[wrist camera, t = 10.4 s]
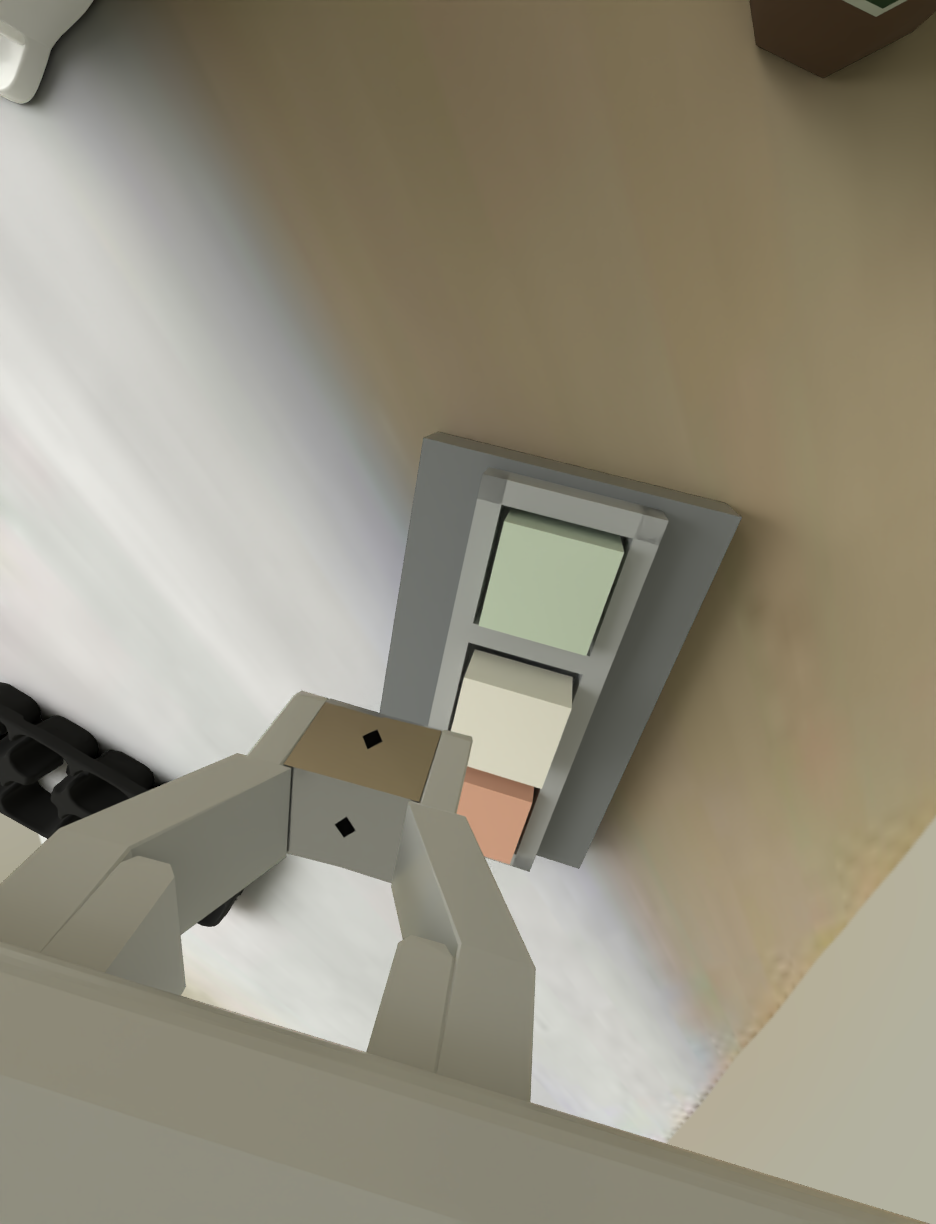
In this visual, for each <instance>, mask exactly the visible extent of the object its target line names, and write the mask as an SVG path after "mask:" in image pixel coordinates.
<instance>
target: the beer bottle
mask: <svg viewBox="0 0 936 1224" xmlns="http://www.w3.org/2000/svg"><path fill="white" fill-rule="evenodd" d="M750 6H751V13H752V20H753V27H754V34H755V41H756V45H757V46H759V47H761V48H763V49H765V50H767V51H769V52H771V53H773V54H775V55H777V56H779V57H781V58H783V59H785V60H787V61H790V62H792V63H794V64H796V65H798V66H800V67H802V68H804V69H806V70H808V71H810V72H812V73H814V74H816V75H818V76H820V77H822V78H824V77H826V76H828V75H830V74H832V73H834V72H836V71H838V70H840V69H842V68H844V67H846V66H848V65H849V64H851V63H853V62H855V61H857V60H859V59H861V58H863V57H865V56H867V55H869V54H871V53H873V52H875V51H876V50H878V49H880V48H882V47H884V46H886V45H888V44H890V43H892V42H894V41H896V40H898V39H900V38H902V37H903V36H905V35H907V34H909V33H911V32H913V31H914V30H915V29H916V28H917V27H918V26H919V25H921V24H922V23H923V22H924V21H925V20H926V19H927V18H928V17H930V16H931V15H932V14H933V13H934V12H935V11H936V0H750Z"/></svg>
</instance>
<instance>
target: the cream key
mask: <svg viewBox="0 0 936 1224" xmlns="http://www.w3.org/2000/svg"><path fill="white" fill-rule="evenodd" d="M572 681H573V677H571V676H567V675H564V674H560V673H557V672H553V671H550V670H546V669H543V668H539V667H536V666H532V665H529V664H525V663H522V662H518V661H515V660H511V659H508V658H504V657H501V656H497V655H494V654H490V653H487V652H483V651H480V650H476V649H475V650H474V653H473V655H472V658H471V660H470V663H469V666H468V668H467V671H466V673H465V676H464V679H463V683H462V687H461V692H460V696H459V700H458V704H457V708H456V712H455V716H454V720H453V724H452V728H451V731H452V732H456V733H460V734H464V735H468V736H472V739H473V743H472V747H471V752H470V756H469V761H468V765H467V766H468V767H471V768H474V769H478V770H481V771H484V772H488V773H491V774H494V775H497V776H501V777H504V778H507V779H510V780H514V781H517V782H520V783H524V784H527V785H530V786H533V787H537V788H540V789H542V787H543V785H544V782H545V779H546V776H547V774H548V771H549V768H550V766H551V763H552V760H553V758H554V755H555V752H556V750H557V747H558V744H559V742H560V739H561V736H562V733H563V731H564V728H565V725H566V723H567V720H568V717H569V715H570V712H571V709H572Z"/></svg>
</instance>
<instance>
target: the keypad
mask: <svg viewBox="0 0 936 1224" xmlns="http://www.w3.org/2000/svg"><path fill="white" fill-rule="evenodd" d="M511 507H512V508H516V509H520V510H524V511H528V512H532V513H536V514H539V515H543V516H547V517H551V518H555V519H559V520H563V521H567V522H570V523H574V524H578V525H582V526H586V527H590V528H594V529H598V530H601V531H605V532H609V533H613V534H617V535H620V537H621V542H622V546H623V550H624V554H623V557H622V560H621V563H620V565H619V568H618V571H617V574H616V576H615V579H614V582H613V584H612V587H611V590H610V593H609V595H608V598H607V601H606V604H605V606H604V609H603V612H602V614H601V617H600V620H599V623H598V625H597V628H596V631H595V634H594V636H593V639H592V642H591V644H590V647H589V650H588V653H587V655H586V656H584V655H581V654H577V653H573V652H570V651H566V650H563V649H559V648H556V647H552V646H548V645H545V644H541V643H538V642H534V641H531V640H527V639H524V638H520V637H516V636H513V635H509V634H506V633H502V632H499V631H495V630H491V629H488V628H484V627H481V626H478V625H479V621H480V617H481V613H482V609H483V605H484V601H485V597H486V593H487V589H488V585H489V581H490V577H491V573H492V568H493V564H494V560H495V556H496V552H497V548H498V544H499V540H500V536H501V532H502V528H503V524H504V521H505V519H506V517H507V515H508V513H509V511H510V509H511ZM741 518H742V517H741V516H740V515H739V514H738V513H737V512H735V511H734V510H733V509H732V508H731V507H730V506H729V505H728V504H726V503H723V502H719V501H715V500H711V499H707V498H703V497H699V496H695V495H691V494H687V493H683V492H679V491H675V490H671V489H667V488H663V487H659V486H655V485H651V484H647V483H643V482H639V481H635V480H631V479H627V478H623V477H619V476H615V475H610V474H606V473H602V472H598V471H594V470H590V469H586V468H582V467H578V466H574V465H570V464H566V463H562V462H558V461H554V460H550V459H546V458H542V457H538V456H534V455H530V454H526V453H522V452H518V451H514V450H510V449H506V448H502V447H498V446H494V445H490V444H486V443H482V442H478V441H473V440H469V439H465V438H461V437H457V436H453V435H449V434H445V433H441V432H436V433H434V434H431V435H429V436H426V437H424V438H423V444H422V450H421V456H420V462H419V469H418V475H417V481H416V487H415V494H414V500H413V506H412V513H411V519H410V525H409V531H408V538H407V544H406V550H405V556H404V563H403V569H402V575H401V582H400V588H399V594H398V600H397V607H396V613H395V619H394V625H393V632H392V638H391V644H390V651H389V657H388V663H387V669H386V676H385V682H384V688H383V694H382V701H381V707H380V713H381V714H385V715H388V716H392V717H396V718H400V719H403V720H407V721H411V722H415V723H419V724H422V725H426V726H430V727H434V728H438V729H442V730H448V731H451V728H452V724H453V720H454V716H455V712H456V708H457V704H458V700H459V696H460V692H461V687H462V683H463V679H464V676H465V673H466V671H467V668H468V666H469V663H470V660H471V658H472V655H473V653H474V650H475V649H476V650H480V651H483V652H487V653H490V654H494V655H497V656H501V657H504V658H508V659H511V660H515V661H518V662H522V663H525V664H529V665H532V666H536V667H539V668H543V669H546V670H550V671H553V672H557V673H560V674H564V675H567V676H571V677H573V681H572V709H571V712H570V715H569V717H568V720H567V723H566V725H565V728H564V731H563V733H562V736H561V739H560V742H559V744H558V747H557V750H556V752H555V755H554V758H553V760H552V763H551V766H550V768H549V771H548V774H547V776H546V779H545V782H544V785H543V787H542V789H540V788H537V787H534V793H533V802H532V805H531V808H530V811H529V813H528V816H527V819H526V822H525V824H524V827H523V830H522V833H521V835H520V838H519V841H518V843H517V846H516V849H515V852H514V854H513V857H512V860H511V863H510V864H507V863H504V864H507V865H510V866H513V867H516V868H519V869H523V870H526V871H530V869H531V866H532V864H533V861H534V859H535V856H536V855H538V856H541V857H544V858H547V859H551V860H554V861H557V862H560V863H563V864H566V865H569V866H573V867H576V868H580V866H581V864H582V862H583V859H584V857H585V855H586V853H587V851H588V849H589V846H590V844H591V842H592V840H593V838H594V836H595V834H596V831H597V829H598V827H599V825H600V823H601V821H602V818H603V816H604V814H605V812H606V810H607V808H608V805H609V803H610V801H611V799H612V797H613V795H614V792H615V790H616V788H617V786H618V784H619V782H620V780H621V777H622V775H623V773H624V771H625V769H626V767H627V764H628V762H629V760H630V758H631V756H632V754H633V751H634V749H635V747H636V745H637V743H638V741H639V738H640V736H641V734H642V732H643V730H644V728H645V726H646V723H647V721H648V719H649V717H650V715H651V713H652V710H653V708H654V706H655V704H656V702H657V700H658V697H659V695H660V693H661V691H662V689H663V687H664V684H665V682H666V680H667V678H668V676H669V674H670V671H671V669H672V667H673V665H674V663H675V661H676V659H677V656H678V654H679V652H680V650H681V648H682V646H683V643H684V641H685V639H686V637H687V635H688V633H689V630H690V628H691V626H692V624H693V622H694V620H695V617H696V615H697V613H698V611H699V609H700V607H701V605H702V602H703V600H704V598H705V596H706V594H707V592H708V589H709V587H710V585H711V583H712V581H713V579H714V576H715V574H716V572H717V570H718V568H719V566H720V563H721V561H722V559H723V557H724V555H725V553H726V551H727V548H728V546H729V544H730V542H731V540H732V538H733V535H734V533H735V531H736V529H737V527H738V525H739V522H740V520H741ZM484 857H485V856H484ZM485 858H488V857H485ZM488 859H491V858H488ZM491 860H494V859H491ZM494 861H497V860H494ZM498 862H500V861H498ZM501 863H503V862H501Z"/></svg>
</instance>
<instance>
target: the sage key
mask: <svg viewBox="0 0 936 1224" xmlns="http://www.w3.org/2000/svg"><path fill="white" fill-rule="evenodd" d="M623 554H624V550H623V546H622V542H621V537H620V535H617V534H613V533H609V532H605V531H601V530H598V529H594V528H590V527H586V526H582V525H578V524H574V523H570V522H567V521H563V520H559V519H555V518H551V517H547V516H543V515H539V514H536V513H532V512H528V511H524V510H520V509H516V508H512V507H511V509H510V511H509V513H508V515H507V517H506V519H505V521H504V524H503V528H502V532H501V536H500V540H499V544H498V548H497V552H496V556H495V560H494V564H493V568H492V573H491V577H490V581H489V585H488V589H487V593H486V597H485V601H484V605H483V609H482V613H481V617H480V621H479V625H478V626H481V627H484V628H488V629H491V630H495V631H499V632H502V633H506V634H509V635H513V636H516V637H520V638H524V639H527V640H531V641H534V642H538V643H541V644H545V645H548V646H552V647H556V648H559V649H563V650H566V651H570V652H573V653H577V654H581V655H584V656H586V655H587V653H588V650H589V647H590V644H591V642H592V639H593V636H594V634H595V631H596V628H597V625H598V623H599V620H600V617H601V614H602V612H603V609H604V606H605V604H606V601H607V598H608V595H609V593H610V590H611V587H612V584H613V582H614V579H615V576H616V574H617V571H618V568H619V565H620V563H621V560H622V557H623Z"/></svg>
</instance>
